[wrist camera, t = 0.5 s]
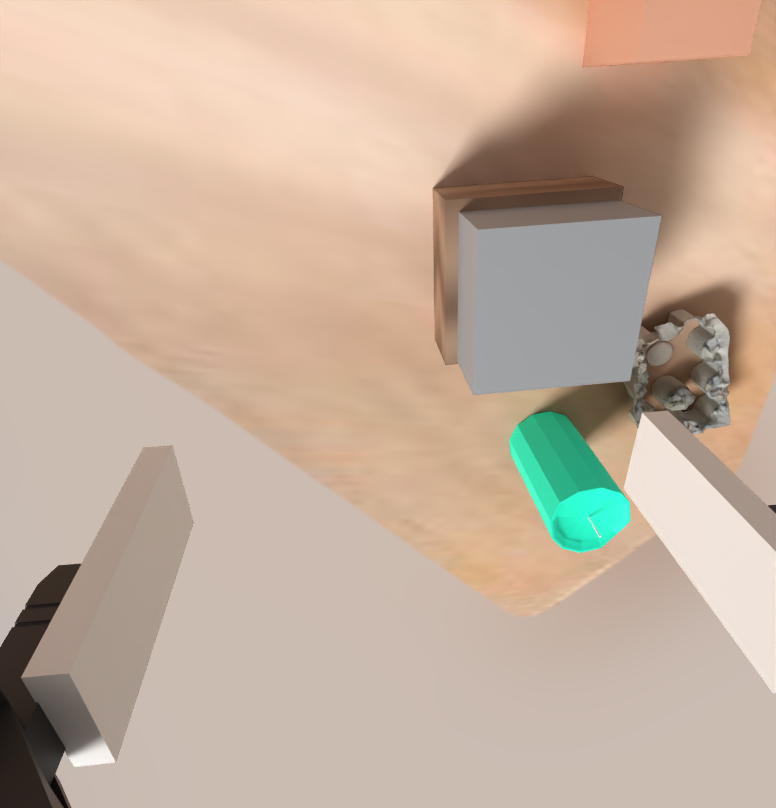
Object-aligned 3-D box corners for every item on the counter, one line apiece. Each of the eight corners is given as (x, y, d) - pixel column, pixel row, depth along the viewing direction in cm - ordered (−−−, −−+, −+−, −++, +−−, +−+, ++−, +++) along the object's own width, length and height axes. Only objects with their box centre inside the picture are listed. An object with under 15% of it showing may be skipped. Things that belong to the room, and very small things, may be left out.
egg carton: (610, 327, 43) (634, 348, 40) (704, 296, 43) (737, 314, 39) (623, 433, 48) (646, 459, 45) (707, 406, 48) (737, 431, 44)
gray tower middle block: (458, 211, 33) (477, 229, 29) (619, 200, 33) (661, 215, 29) (457, 360, 38) (473, 395, 34) (596, 348, 38) (630, 380, 34)
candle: (521, 477, 50) (570, 578, 39) (499, 429, 47) (546, 524, 36) (583, 451, 49) (650, 548, 38) (565, 400, 46) (633, 489, 36)
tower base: (432, 187, 37) (445, 200, 32) (590, 175, 37) (623, 186, 33) (434, 337, 42) (445, 365, 38) (571, 325, 43) (598, 351, 39)
